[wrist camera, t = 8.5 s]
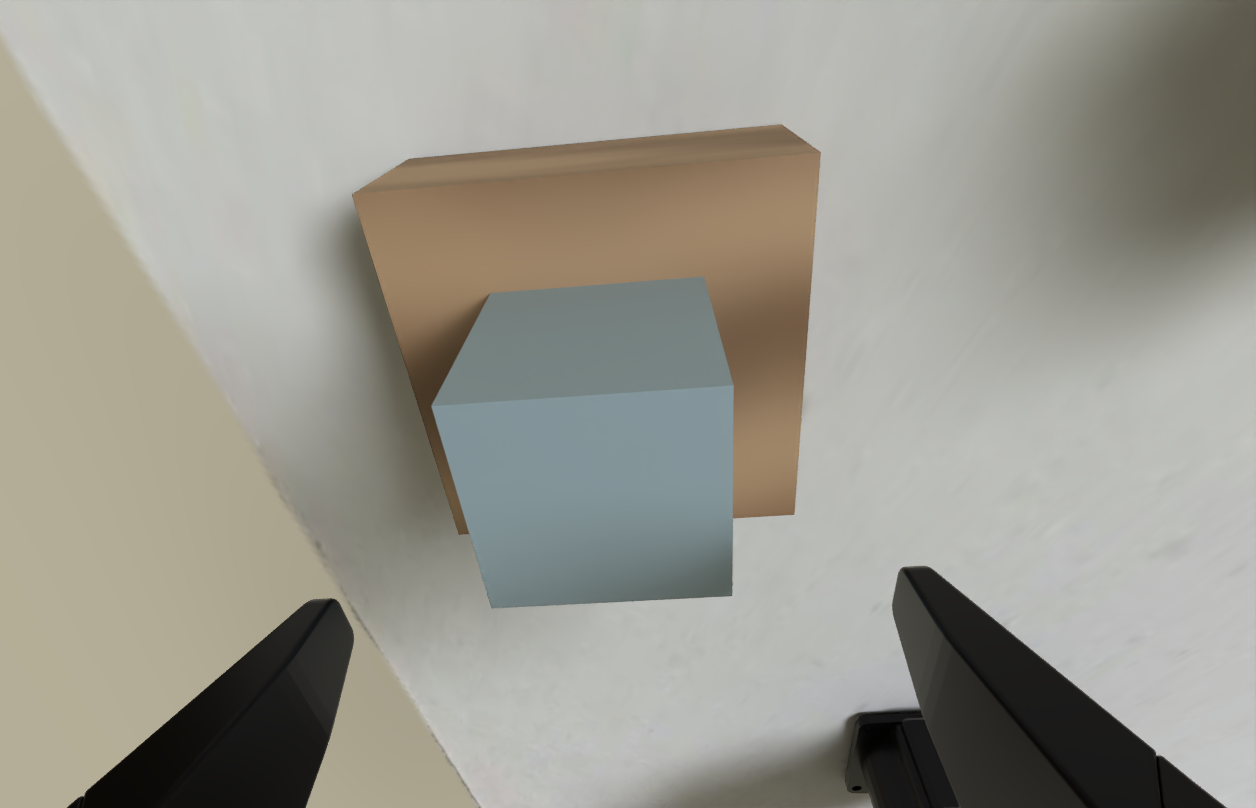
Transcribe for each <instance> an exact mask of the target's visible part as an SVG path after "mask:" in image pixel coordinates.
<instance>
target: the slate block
mask: <svg viewBox="0 0 1256 808" xmlns="http://www.w3.org/2000/svg"><path fill="white" fill-rule="evenodd" d="M733 400H734V385H733V381H732V378H731V374H730V370H729V367H728V363H727V359H726V356H725V352H724V348H723V345H722V341H721V337H720V334H719V330H718V326H717V323H716V319H715V315H714V312H713V308H712V304H711V301H710V297H709V293H708V290H707V286H706V282H705V279H704V277H691V278H678V279H665V280H652V281H639V282H627V283H614V284H601V285H588V286H575V287H562V288H549V289H536V290H524V291H511V292H498V293H490V295H489V297H488V299H487V301H486V303H485V305H484V306H483V308H482V310H481V312H480V314H479V316H478V318H477V320H476V322H475V324H474V326H473V327H472V329H471V331H470V333H469V335H468V337H467V339H466V341H465V343H464V345H463V347H462V348H461V350H460V352H459V354H458V356H457V358H456V360H455V362H454V364H453V366H452V368H451V369H450V371H449V373H448V375H447V377H446V379H445V381H444V383H443V385H442V387H441V389H440V390H439V392H438V394H437V396H436V398H435V400H434V402H433V404H432V406H431V407H432V410H433V414H434V417H435V420H436V424H437V427H438V430H439V434H440V437H441V440H442V444H443V447H444V450H445V454H446V457H447V461H448V464H449V467H450V471H451V474H452V477H453V481H454V484H455V487H456V491H457V494H458V497H459V501H460V504H461V507H462V511H463V514H464V518H465V521H466V524H467V528H468V531H469V534H470V538H471V541H472V544H473V548H474V551H475V554H476V558H477V561H478V564H479V568H480V571H481V575H482V578H483V581H484V585H485V588H486V591H487V595H488V598H489V601H490V605H491V608H507V607H527V606H546V605H566V604H585V603H605V602H625V601H644V600H664V599H683V598H703V597H722V596H732V549H733Z"/></svg>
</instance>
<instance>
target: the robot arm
mask: <svg viewBox="0 0 1256 808" xmlns="http://www.w3.org/2000/svg"><path fill="white" fill-rule="evenodd" d="M892 609H893V616H894V620H895V623H896V627H897V630H898V634H899V637H900V641H901V644H902V647H903V651H904V654H905V658H906V661H907V665H908V668H909V672H910V675H911V678H912V682H913V685H914V689H915V692H916V696H917V699H918V702H919V705H920V709H921V712H922V713H906V714H883V715H865V716H862V717H860V718H858V719H857V721H856V725H855V730H854V735H853V741H852V746H851V751H850V757H849V762H848V767H847V773H846V778H845V783H846V787H847V790H848V791H849V792H851V793H869V795H870V798H871V802H872V805H873V808H1226V807H1225V806H1224V805H1223V804H1221V803H1220V802H1219V801H1218V800H1216V799H1215V798H1214V797H1213V796H1211V795H1210V794H1209V793H1207V792H1206V791H1205V790H1204V789H1202V788H1201V787H1200V786H1199V785H1197V784H1196V783H1195V782H1193V781H1192V780H1191V779H1190V778H1189V777H1187V776H1186V775H1185V774H1184V773H1182V772H1181V771H1180V770H1179V769H1178V768H1176V767H1175V766H1174V765H1173V764H1171V763H1170V762H1169V761H1168V760H1166V759H1165V758H1164V757H1163V756H1160V755H1158V756H1156V752H1155V750H1154V749H1153V748H1151V747H1150V746H1149V745H1148V744H1147V743H1145V742H1144V741H1143V740H1142V739H1140V738H1139V737H1138V736H1137V735H1135V734H1134V733H1133V732H1132V731H1131V730H1129V729H1128V728H1127V727H1126V726H1124V725H1123V724H1122V723H1121V722H1120V721H1118V720H1117V719H1116V718H1115V717H1113V716H1112V715H1111V714H1110V713H1109V712H1107V711H1106V710H1105V709H1104V708H1102V707H1101V706H1100V705H1099V704H1097V703H1096V702H1095V701H1094V700H1093V699H1091V698H1090V697H1089V696H1088V695H1086V694H1085V693H1084V692H1083V691H1082V690H1080V689H1079V688H1078V687H1077V686H1075V685H1074V684H1073V683H1072V682H1071V681H1069V680H1068V679H1067V678H1066V677H1064V676H1063V675H1062V674H1061V673H1059V672H1058V671H1057V670H1056V669H1055V668H1053V667H1052V666H1051V665H1050V664H1048V663H1047V662H1046V661H1045V660H1044V659H1042V658H1041V657H1040V656H1039V655H1037V654H1036V653H1035V652H1034V651H1033V650H1031V649H1030V648H1029V647H1028V646H1026V645H1025V644H1024V643H1023V642H1021V641H1020V640H1019V639H1018V638H1017V637H1015V636H1014V635H1013V634H1012V633H1010V632H1009V631H1008V630H1007V629H1006V628H1004V627H1003V626H1002V625H1001V624H999V623H998V622H997V621H996V620H994V619H993V618H992V617H991V616H990V615H988V614H987V613H986V612H985V611H983V610H982V609H981V608H980V607H979V606H977V605H976V604H975V603H974V602H972V601H971V600H970V599H969V598H968V597H966V596H965V595H964V594H963V593H961V592H960V591H959V590H958V589H956V588H955V587H954V586H953V585H952V584H950V583H949V582H948V581H947V580H945V579H944V578H943V577H942V576H941V575H939V574H938V573H937V572H936V571H934V570H933V569H932V568H930V567H927V566H911V567H903V568H901V569H900V571H899V573H898V577H897V582H896V587H895V592H894V597H893V603H892ZM353 642H354V634H353V630H352V627H351V626H350V623H349V621H348V619H347V617H346V615H345V613H344V611H343V609H342V607H341V605H340V603H339V602H338V601H337V600H335V599H332V598H330V599H314V600H310V601H308V602H307V603H305V604H304V605H303V606H302V607H300V608H299V609H298V610H297V611H296V612H295V613H293V614H292V615H291V616H290V617H289V618H288V619H286V620H285V621H284V622H283V623H282V624H281V625H279V626H278V627H277V628H276V629H275V630H274V631H273V632H271V633H270V634H269V635H268V636H267V637H265V638H264V639H263V640H262V641H261V642H260V643H258V644H257V645H256V646H255V647H254V648H253V649H251V650H250V651H249V652H248V653H247V654H246V655H244V656H243V657H242V658H241V659H240V660H239V661H237V662H236V663H235V664H234V665H233V666H232V667H231V668H229V669H228V670H227V671H226V672H225V673H223V674H222V675H221V676H220V677H219V678H218V679H216V680H215V681H214V682H213V683H212V684H211V685H209V686H208V687H207V688H206V689H205V690H204V691H203V692H201V693H200V694H199V695H198V696H197V697H196V698H195V699H193V700H192V701H191V702H190V703H188V704H187V705H186V706H185V707H184V708H183V709H181V710H180V711H179V712H178V713H177V714H176V715H175V716H173V717H172V718H171V719H170V720H169V721H168V722H166V723H165V724H164V725H163V726H162V727H160V728H159V729H158V730H157V731H156V732H155V733H153V734H152V735H151V736H150V737H149V738H148V739H146V740H145V741H144V742H143V743H142V744H141V745H139V746H138V747H137V748H136V749H135V750H134V751H133V752H131V753H130V754H129V755H128V756H127V757H125V758H124V759H123V760H122V761H121V762H120V763H119V764H117V765H116V766H115V767H114V768H113V769H112V770H110V771H109V772H108V773H107V774H106V775H105V776H103V777H102V778H101V779H100V780H99V781H97V782H96V783H95V784H94V785H93V786H92V787H91V788H90V789H88V790H87V791H86V793H85V795H84V797H83V796H81V797H79V798H77V799H76V800H75V801H74V802H73V803H72V804H70V805H69V806H68V807H67V808H306V805H307V802H308V799H309V797H310V794H311V791H312V788H313V785H314V782H315V780H316V777H317V774H318V771H319V768H320V765H321V763H322V760H323V757H324V754H325V751H326V748H327V745H328V742H329V739H330V736H331V732H332V729H333V725H334V721H335V717H336V713H337V709H338V705H339V701H340V697H341V693H342V689H343V685H344V681H345V676H346V673H347V668H348V665H349V660H350V657H351V652H352V648H353V644H354V643H353Z"/></svg>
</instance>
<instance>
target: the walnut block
mask: <svg viewBox="0 0 1256 808" xmlns="http://www.w3.org/2000/svg"><path fill="white" fill-rule="evenodd" d="M820 155H821V152H820V151H818V150H817V149H815V148H814V147H813V146H811V145H810V144H808V143H807V142H806V141H804V140H803V139H801V138H800V137H798V136H797V135H796V134H794V133H793V132H791V131H790V130H789V129H787V128H786V127H784V126H783V125H782V124H781V125H770V126H759V127H749V128H738V129H727V130H716V131H705V132H695V133H684V134H673V135H662V136H651V137H641V138H630V139H619V140H608V141H597V142H586V143H576V144H565V145H554V146H543V147H532V148H522V149H511V150H500V151H489V152H478V153H468V154H457V155H446V156H435V157H424V158H414V159H408V160H407V161H405V162H403V163H402V164H400V165H398V166H397V167H395V168H394V169H392V170H390V171H389V172H387V173H386V174H384V175H382V176H381V177H379V178H378V179H376V180H374V181H373V182H371V183H369V184H368V185H366V186H365V187H363V188H361V189H360V190H358V191H357V192H355V193H353V194H352V196H353V199H354V203H355V206H356V209H357V212H358V215H359V219H360V222H361V225H362V228H363V231H364V234H365V238H366V241H367V244H368V247H369V250H370V253H371V257H372V260H373V263H374V266H375V269H376V273H377V276H378V279H379V282H380V285H381V288H382V292H383V295H384V298H385V301H386V304H387V308H388V311H389V314H390V317H391V320H392V323H393V327H394V330H395V333H396V336H397V339H398V343H399V346H400V349H401V352H402V355H403V358H404V362H405V365H406V368H407V371H408V374H409V378H410V381H411V384H412V387H413V390H414V393H415V397H416V400H417V403H418V406H419V409H420V413H421V416H422V419H423V422H424V425H425V428H426V432H427V435H428V438H429V441H430V444H431V448H432V451H433V454H434V457H435V460H436V463H437V467H438V470H439V473H440V476H441V479H442V483H443V486H444V489H445V492H446V495H447V498H448V502H449V505H450V508H451V511H452V514H453V518H454V521H455V524H456V527H457V530H458V533H459V534H469V531H468V528H467V524H466V521H465V518H464V514H463V511H462V507H461V504H460V501H459V497H458V494H457V491H456V487H455V484H454V481H453V477H452V474H451V471H450V467H449V464H448V461H447V457H446V454H445V450H444V447H443V444H442V440H441V437H440V434H439V430H438V427H437V424H436V420H435V417H434V414H433V410H432V407H431V406H432V404H433V402H434V400H435V398H436V396H437V394H438V392H439V390H440V389H441V387H442V385H443V383H444V381H445V379H446V377H447V375H448V373H449V371H450V369H451V368H452V366H453V364H454V362H455V360H456V358H457V356H458V354H459V352H460V350H461V348H462V347H463V345H464V343H465V341H466V339H467V337H468V335H469V333H470V331H471V329H472V327H473V326H474V324H475V322H476V320H477V318H478V316H479V314H480V312H481V310H482V308H483V306H484V305H485V303H486V301H487V299H488V297H489V295H490V293H498V292H511V291H524V290H536V289H549V288H562V287H575V286H588V285H601V284H614V283H627V282H639V281H652V280H665V279H678V278H691V277H704V279H705V282H706V286H707V290H708V293H709V297H710V301H711V304H712V308H713V312H714V315H715V319H716V323H717V326H718V330H719V334H720V337H721V341H722V345H723V348H724V352H725V356H726V359H727V363H728V367H729V370H730V374H731V378H732V381H733V385H734V400H733V518H745V517H762V516H779V515H794V511H795V498H796V484H797V470H798V456H799V443H800V429H801V415H802V402H803V388H804V374H805V360H806V347H807V333H808V319H809V305H810V292H811V278H812V264H813V251H814V237H815V223H816V209H817V196H818V182H819V168H820Z"/></svg>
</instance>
